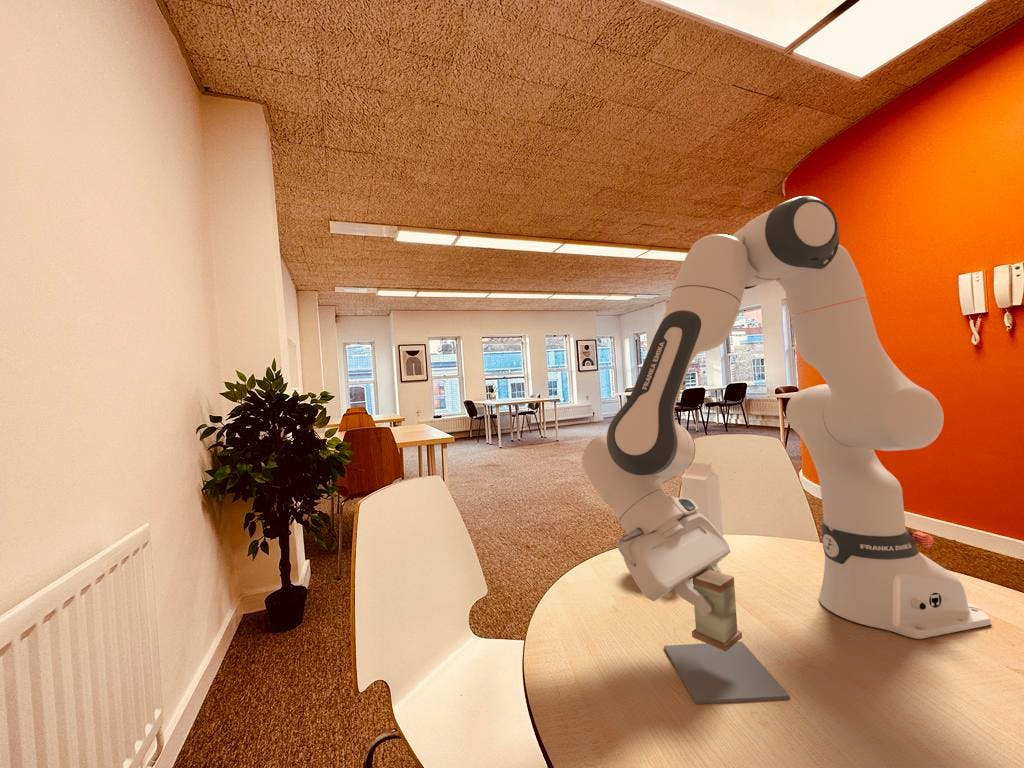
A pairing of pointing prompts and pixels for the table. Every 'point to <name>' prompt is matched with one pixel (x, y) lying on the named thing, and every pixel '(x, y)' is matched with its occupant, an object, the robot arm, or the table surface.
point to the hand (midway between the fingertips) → (719, 605)
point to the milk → (704, 492)
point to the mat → (723, 674)
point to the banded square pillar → (717, 610)
